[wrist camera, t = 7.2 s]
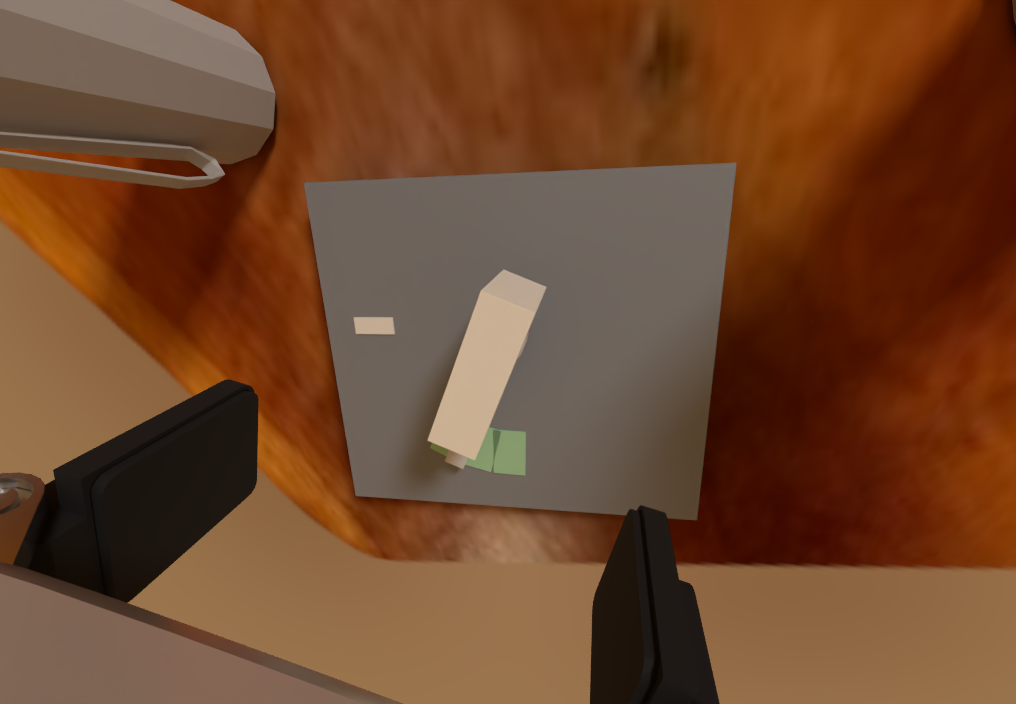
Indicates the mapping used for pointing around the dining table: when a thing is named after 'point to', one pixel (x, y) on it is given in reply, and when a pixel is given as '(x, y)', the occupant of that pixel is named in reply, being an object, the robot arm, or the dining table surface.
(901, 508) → the dining table surface
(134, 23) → the water bottle
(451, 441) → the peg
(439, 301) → the grey square board
